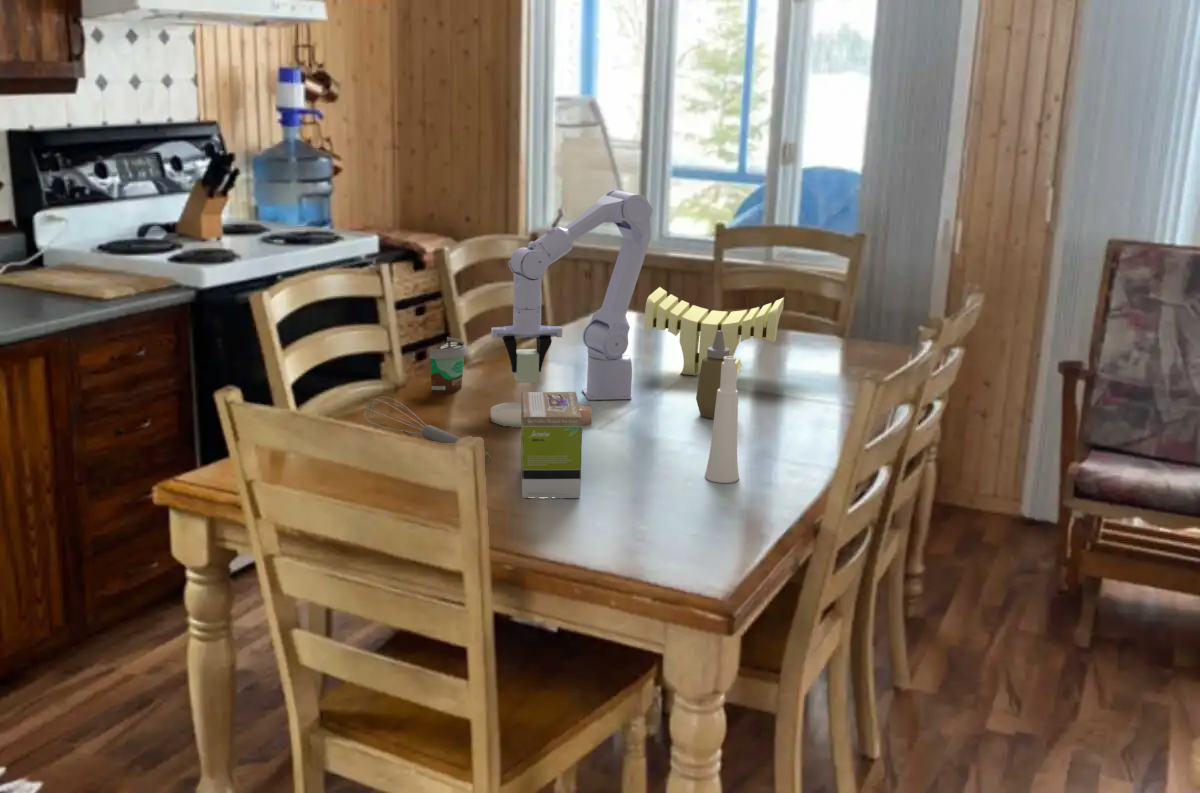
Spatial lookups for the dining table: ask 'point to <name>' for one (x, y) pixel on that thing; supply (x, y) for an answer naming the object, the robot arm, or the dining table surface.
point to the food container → (447, 366)
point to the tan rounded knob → (586, 415)
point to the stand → (507, 414)
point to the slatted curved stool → (708, 326)
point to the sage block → (527, 366)
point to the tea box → (551, 445)
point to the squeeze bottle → (711, 376)
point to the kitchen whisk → (427, 432)
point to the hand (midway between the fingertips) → (526, 371)
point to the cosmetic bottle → (725, 428)
